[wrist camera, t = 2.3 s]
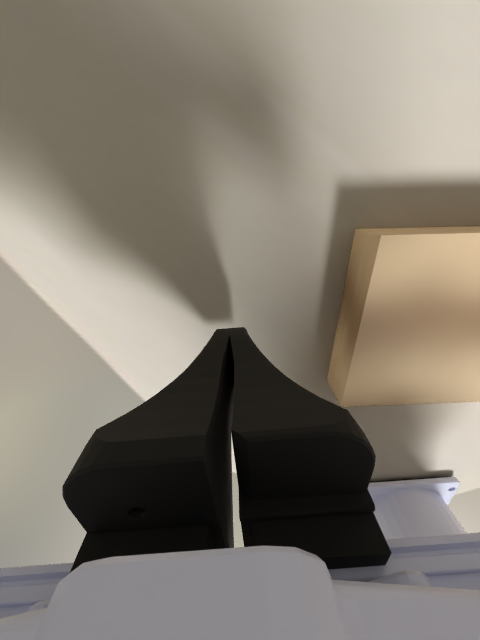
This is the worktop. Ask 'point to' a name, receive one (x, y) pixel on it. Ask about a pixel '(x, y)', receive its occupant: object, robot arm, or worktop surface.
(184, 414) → the robot arm
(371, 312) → the board
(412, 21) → the worktop surface
